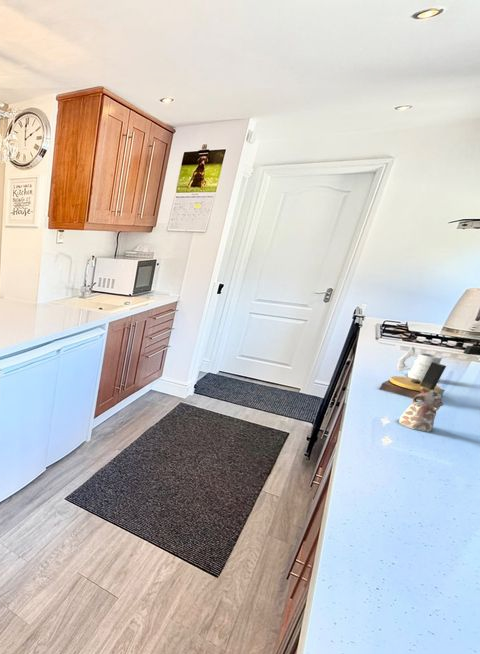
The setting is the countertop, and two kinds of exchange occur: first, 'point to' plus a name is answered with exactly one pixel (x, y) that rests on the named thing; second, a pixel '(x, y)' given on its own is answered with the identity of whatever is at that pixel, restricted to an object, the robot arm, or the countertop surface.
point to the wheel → (427, 382)
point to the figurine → (422, 411)
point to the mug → (417, 363)
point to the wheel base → (403, 390)
